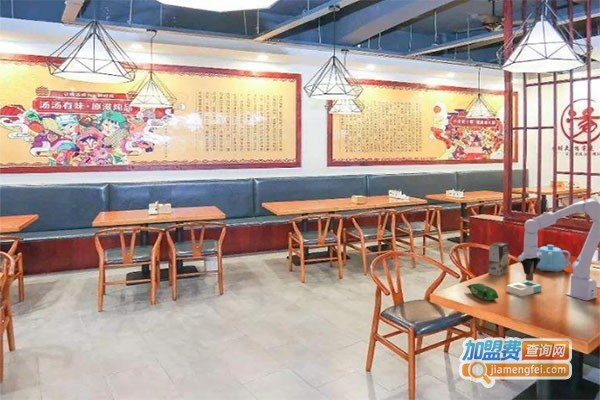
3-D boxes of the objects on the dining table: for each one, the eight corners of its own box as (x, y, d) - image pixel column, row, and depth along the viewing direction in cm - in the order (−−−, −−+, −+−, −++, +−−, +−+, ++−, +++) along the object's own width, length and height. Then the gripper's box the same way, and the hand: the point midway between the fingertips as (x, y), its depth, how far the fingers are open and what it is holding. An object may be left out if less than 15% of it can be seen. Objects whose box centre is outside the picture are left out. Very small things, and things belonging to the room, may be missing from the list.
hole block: (541, 291, 210) (541, 285, 209) (521, 296, 204) (522, 290, 203) (525, 286, 217) (526, 280, 216) (506, 291, 211) (506, 285, 210)
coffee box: (500, 276, 234) (500, 246, 231) (488, 273, 238) (489, 244, 236) (508, 272, 239) (509, 243, 237) (496, 270, 244) (497, 241, 242)
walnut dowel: (534, 280, 210) (535, 261, 209) (529, 281, 209) (530, 262, 208) (529, 278, 213) (529, 260, 212) (524, 279, 212) (525, 260, 211)
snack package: (479, 290, 214) (479, 280, 213) (500, 301, 199) (500, 290, 198) (465, 292, 212) (465, 281, 212) (485, 303, 197) (485, 292, 196)
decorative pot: (574, 272, 236) (575, 247, 235) (546, 274, 234) (547, 249, 232) (552, 264, 252) (553, 241, 251) (526, 266, 250) (527, 242, 248)
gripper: (533, 241, 216) (532, 269, 218) (512, 245, 209) (511, 273, 211) (546, 244, 210) (545, 272, 211) (526, 248, 203) (524, 277, 205)
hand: (529, 273), depth 211 cm, fingers closed on walnut dowel, 3 cm apart
